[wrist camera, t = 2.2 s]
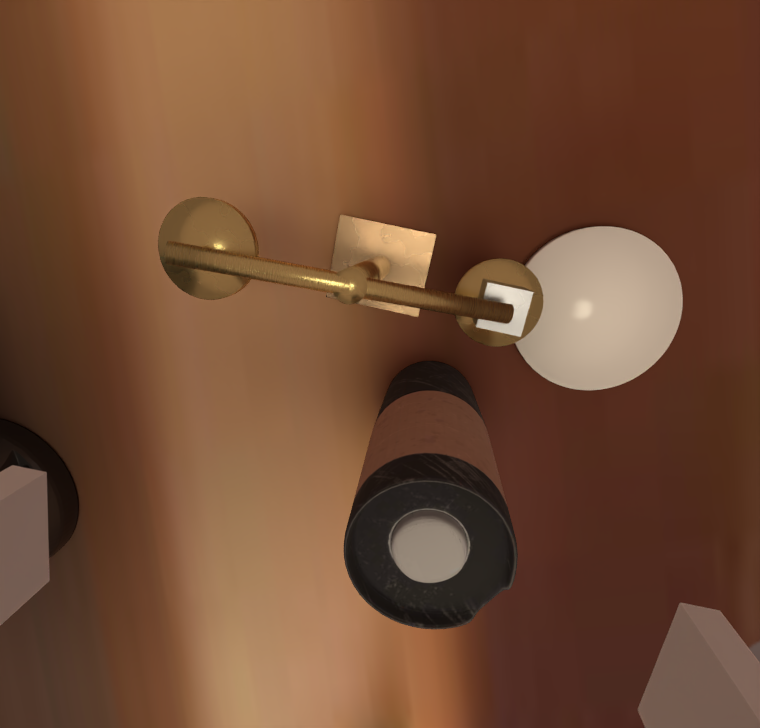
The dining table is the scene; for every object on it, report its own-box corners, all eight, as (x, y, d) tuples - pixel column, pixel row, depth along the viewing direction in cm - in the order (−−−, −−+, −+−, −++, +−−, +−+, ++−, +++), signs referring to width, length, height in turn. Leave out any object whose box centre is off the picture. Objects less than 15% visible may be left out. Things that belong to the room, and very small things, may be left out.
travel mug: (379, 359, 40) (331, 478, 20) (475, 354, 39) (521, 474, 19) (386, 447, 41) (348, 631, 22) (478, 444, 41) (521, 634, 21)
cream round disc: (490, 367, 39) (492, 371, 38) (533, 211, 36) (536, 210, 34) (642, 400, 38) (648, 405, 37) (699, 245, 35) (708, 246, 34)
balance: (249, 275, 39) (102, 309, 21) (259, 197, 37) (109, 165, 20) (503, 331, 38) (564, 413, 21) (524, 253, 36) (611, 271, 19)
